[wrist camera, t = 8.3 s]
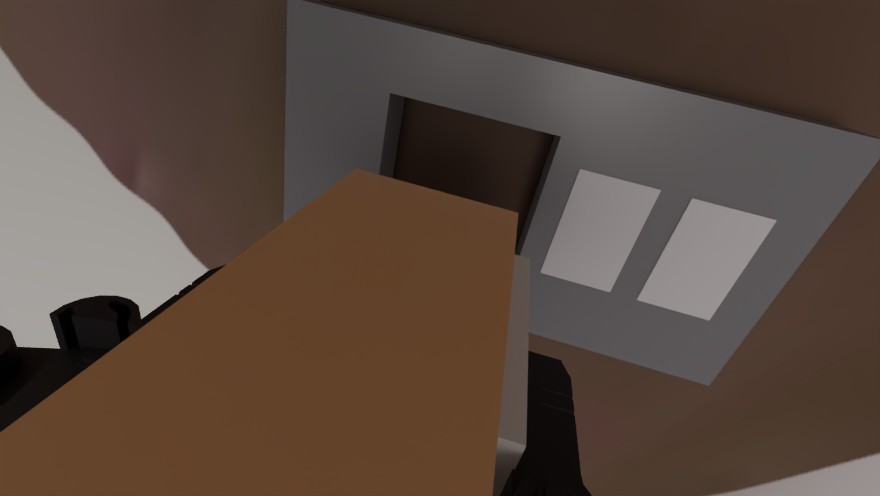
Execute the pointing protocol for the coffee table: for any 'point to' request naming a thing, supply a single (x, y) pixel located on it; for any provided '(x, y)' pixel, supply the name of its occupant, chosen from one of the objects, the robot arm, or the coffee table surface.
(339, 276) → the charger
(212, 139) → the coffee table surface
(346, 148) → the power strip
